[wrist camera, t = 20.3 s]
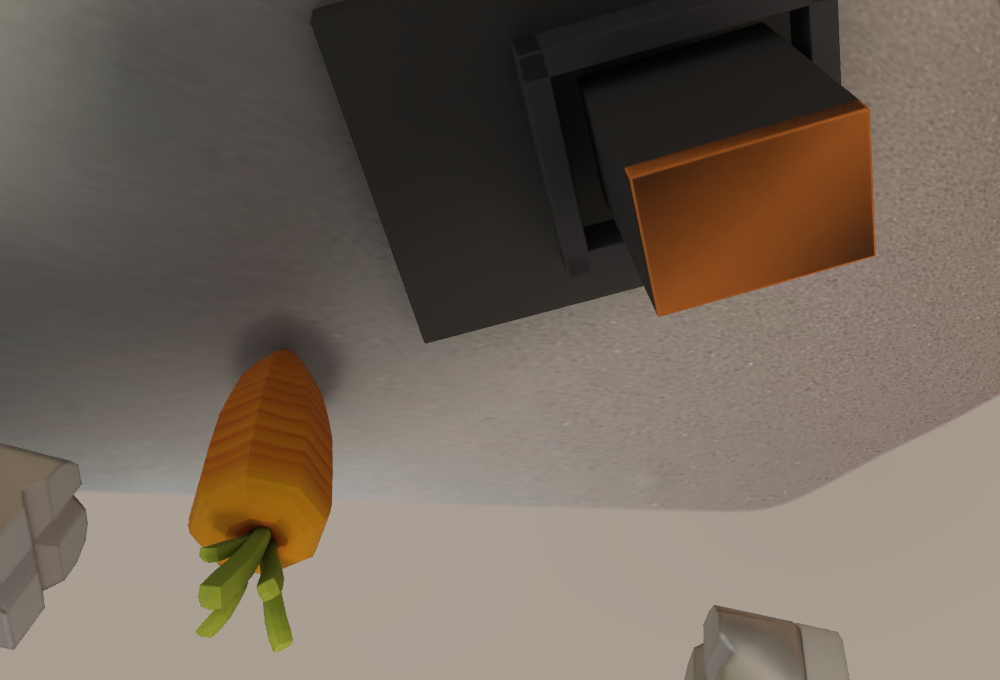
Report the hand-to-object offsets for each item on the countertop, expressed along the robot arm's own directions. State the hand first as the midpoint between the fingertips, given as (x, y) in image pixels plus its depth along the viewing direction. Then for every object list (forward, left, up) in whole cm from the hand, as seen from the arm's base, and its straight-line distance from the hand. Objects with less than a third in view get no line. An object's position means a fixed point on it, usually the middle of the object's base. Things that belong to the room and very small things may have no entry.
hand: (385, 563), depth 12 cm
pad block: (+10, -6, -25) cm, 28 cm away
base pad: (+7, -6, -27) cm, 28 cm away
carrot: (-9, -13, -27) cm, 31 cm away
